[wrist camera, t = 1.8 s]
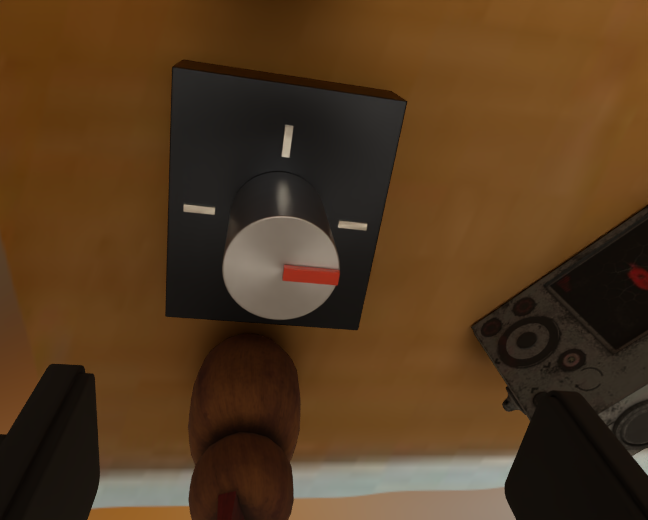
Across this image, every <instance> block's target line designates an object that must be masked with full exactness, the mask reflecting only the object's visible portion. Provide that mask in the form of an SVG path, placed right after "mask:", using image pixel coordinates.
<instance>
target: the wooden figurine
mask: <svg viewBox="0 0 648 520" xmlns="http://www.w3.org/2000/svg"><path fill="white" fill-rule="evenodd" d="M299 429H300V392H299V384H298V375H297V370H296V368H295V366H294V363H293V361H292V359H291V358H290V357H289V355H288V354H287V353H286V352H285V351H284V350H283V349H282V348H281V347H279V346H278V345H277V344H276V343H275V342H274V341H273V340H272V339H269V338H266V337H263V336H260V335H256V334H240V335H236V336H233V337H229V338H227V339H226V340H225V341H223V342H222V343H220V344H219V345H217V346H216V347H215V348H214V349H212V350H211V351H210V352H209V354H208V355H207V356H206V358H205V360H204V362H203V364H202V366H201V368H200V370H199V372H198V375H197V378H196V381H195V383H194V387H193V392H192V398H191V406H190V414H189V425H188V430H189V442H190V449H191V456H192V458H193V461H194V463H195V469H194V472H193V475H192V479H191V484H190V491H189V507H190V514H191V518H192V520H288V519H289V516H290V514H291V510H292V505H293V476H292V468H291V465H290V463H289V462H290V460H291V459H292V456H293V453H294V450H295V446H296V443H297V439H298V435H299Z"/></svg>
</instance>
